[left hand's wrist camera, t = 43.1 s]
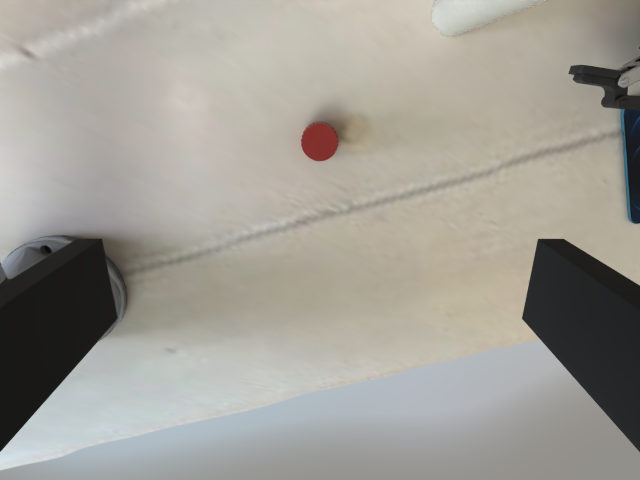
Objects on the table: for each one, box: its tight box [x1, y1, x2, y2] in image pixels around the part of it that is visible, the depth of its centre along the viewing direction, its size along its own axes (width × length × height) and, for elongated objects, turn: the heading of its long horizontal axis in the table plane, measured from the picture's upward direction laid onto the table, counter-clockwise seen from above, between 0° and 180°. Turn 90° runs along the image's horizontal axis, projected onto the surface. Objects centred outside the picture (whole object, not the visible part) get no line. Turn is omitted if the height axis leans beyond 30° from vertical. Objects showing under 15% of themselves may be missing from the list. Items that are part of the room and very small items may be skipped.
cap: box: [301, 122, 338, 161], centre depth 46 cm, size 4×4×2 cm
